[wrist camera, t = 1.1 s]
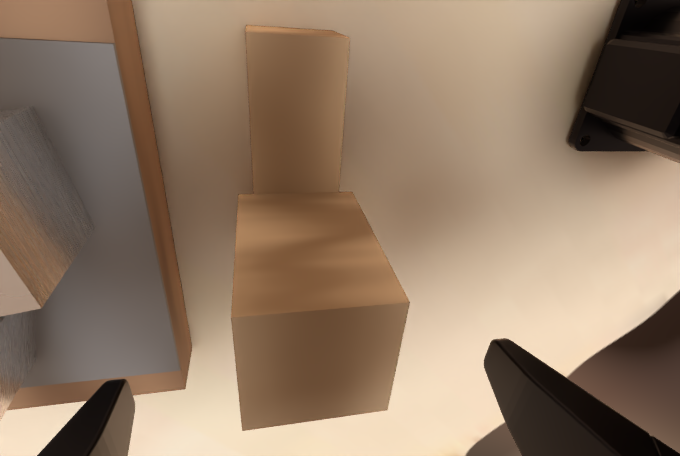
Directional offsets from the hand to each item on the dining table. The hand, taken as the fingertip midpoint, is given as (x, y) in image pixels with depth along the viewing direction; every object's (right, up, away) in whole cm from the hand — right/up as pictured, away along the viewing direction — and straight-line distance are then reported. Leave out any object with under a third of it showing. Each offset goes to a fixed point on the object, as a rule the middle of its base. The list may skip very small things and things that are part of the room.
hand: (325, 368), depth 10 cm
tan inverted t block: (-2, +4, +8) cm, 9 cm away
